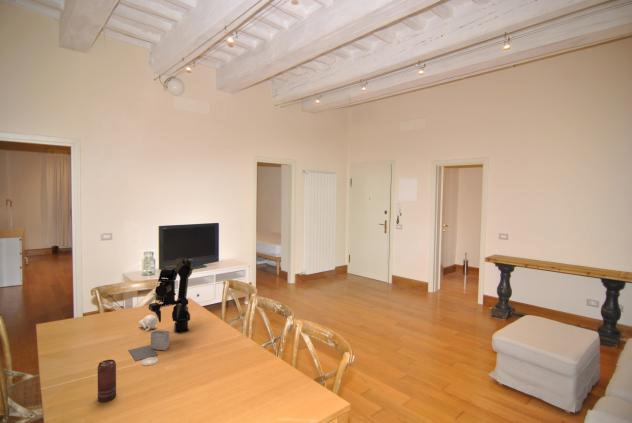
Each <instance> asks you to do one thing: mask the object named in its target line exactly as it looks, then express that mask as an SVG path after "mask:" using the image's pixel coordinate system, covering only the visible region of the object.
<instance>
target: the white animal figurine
mask: <svg viewBox="0 0 632 423" xmlns="http://www.w3.org/2000/svg"><path fill="white" fill-rule="evenodd" d="M157 321H158V318H157V316H155V315H153V314H148V315H146V316H144V318H141V319H140V320H139V321H138V325H139V328H143V329H145V332H148V331H149V332H150V330H151V329H153V330H155V328H156V325H157V323H158V322H157Z"/></svg>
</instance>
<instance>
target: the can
mask: <svg viewBox="0 0 632 423" xmlns="http://www.w3.org/2000/svg"><path fill="white" fill-rule="evenodd" d="M116 396H117V362H116V360H114V359H105V360H103V361H100V362H99V363H98V365H97V400H98V401H99V402H101V403H105V402H109V401H111V400H114V399H115V398H116Z"/></svg>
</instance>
